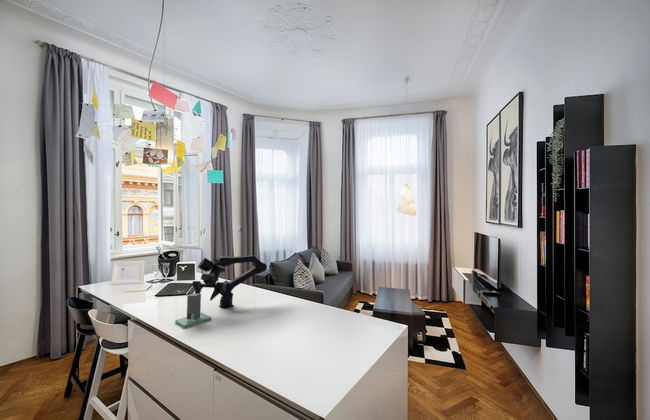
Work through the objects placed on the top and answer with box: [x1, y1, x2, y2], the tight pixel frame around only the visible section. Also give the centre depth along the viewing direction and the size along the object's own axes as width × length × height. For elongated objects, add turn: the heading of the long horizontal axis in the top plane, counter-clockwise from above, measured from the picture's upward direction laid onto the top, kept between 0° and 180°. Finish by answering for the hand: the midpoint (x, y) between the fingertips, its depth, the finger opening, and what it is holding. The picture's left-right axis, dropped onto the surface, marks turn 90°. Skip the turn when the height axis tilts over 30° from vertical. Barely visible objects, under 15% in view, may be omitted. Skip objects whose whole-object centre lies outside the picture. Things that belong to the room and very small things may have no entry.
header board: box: [174, 312, 212, 329], centre depth 139 cm, size 14×10×4 cm
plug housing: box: [186, 292, 202, 320], centre depth 139 cm, size 4×5×12 cm
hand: (202, 299), depth 146 cm, fingers open, 9 cm apart
